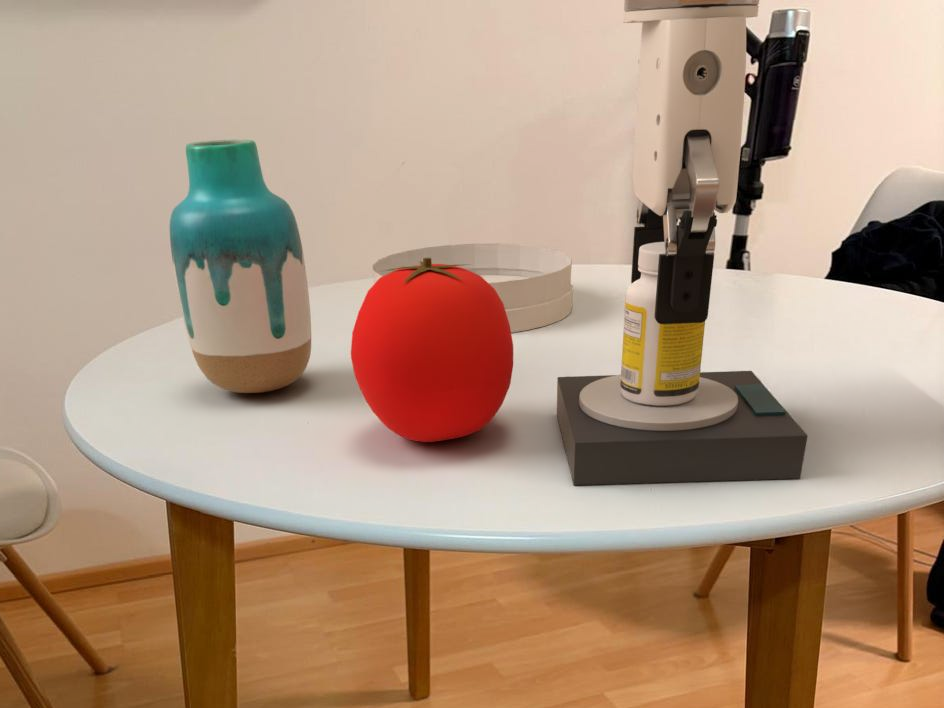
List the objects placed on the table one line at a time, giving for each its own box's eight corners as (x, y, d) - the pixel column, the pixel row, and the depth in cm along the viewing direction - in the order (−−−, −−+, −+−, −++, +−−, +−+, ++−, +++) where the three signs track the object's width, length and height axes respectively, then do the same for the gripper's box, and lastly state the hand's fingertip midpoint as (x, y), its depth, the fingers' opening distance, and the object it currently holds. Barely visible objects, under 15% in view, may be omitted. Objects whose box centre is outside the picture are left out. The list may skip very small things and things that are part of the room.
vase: (304, 364, 86) (275, 133, 76) (332, 397, 78) (303, 142, 67) (190, 380, 83) (143, 142, 72) (206, 416, 75) (155, 152, 64)
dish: (511, 346, 89) (510, 292, 86) (333, 322, 99) (328, 274, 96) (605, 297, 104) (607, 250, 102) (443, 281, 114) (441, 238, 112)
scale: (746, 408, 72) (752, 362, 70) (800, 478, 60) (809, 426, 58) (556, 414, 72) (557, 368, 70) (573, 485, 60) (575, 433, 59)
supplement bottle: (707, 389, 65) (724, 241, 60) (682, 412, 61) (697, 257, 56) (636, 379, 67) (646, 237, 62) (607, 401, 64) (615, 251, 58)
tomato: (444, 399, 76) (436, 237, 69) (547, 432, 69) (550, 255, 62) (324, 439, 69) (302, 264, 62) (425, 481, 62) (412, 287, 55)
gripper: (806, -23, 44) (756, 336, 54) (722, -7, 59) (695, 274, 68) (651, -16, 44) (629, 341, 54) (606, -1, 59) (594, 278, 68)
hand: (666, 303), depth 61 cm, fingers open, 9 cm apart
